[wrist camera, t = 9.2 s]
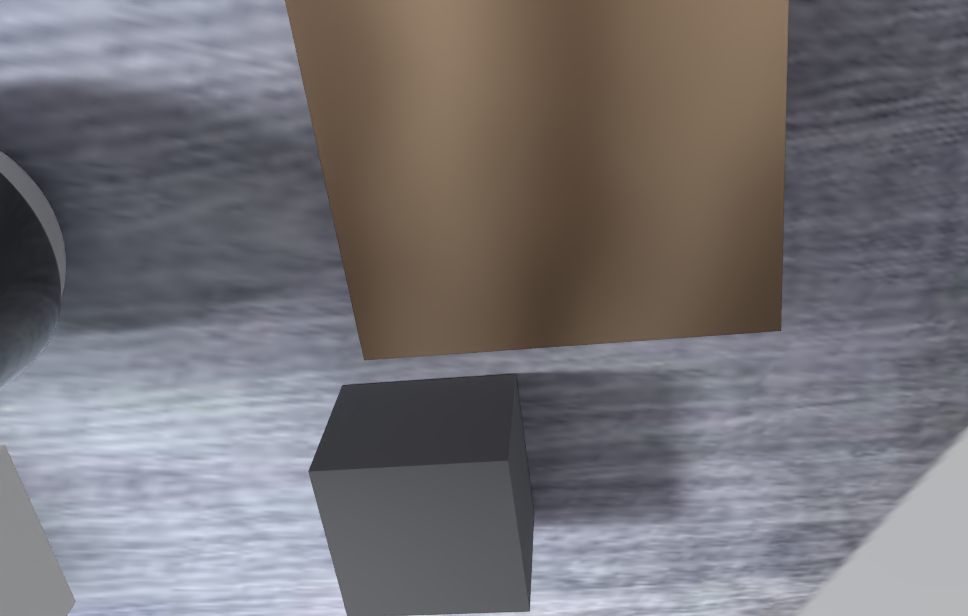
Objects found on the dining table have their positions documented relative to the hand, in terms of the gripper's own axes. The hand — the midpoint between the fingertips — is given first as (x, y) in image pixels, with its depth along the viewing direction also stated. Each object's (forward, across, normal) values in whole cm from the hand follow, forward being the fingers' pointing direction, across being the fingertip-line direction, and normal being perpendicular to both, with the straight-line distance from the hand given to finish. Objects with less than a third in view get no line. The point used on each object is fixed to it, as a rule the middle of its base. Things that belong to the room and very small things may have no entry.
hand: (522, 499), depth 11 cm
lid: (+16, 0, 0) cm, 16 cm away
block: (+22, -6, -15) cm, 27 cm away
